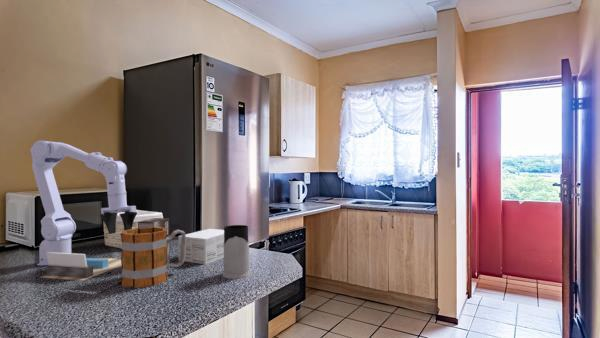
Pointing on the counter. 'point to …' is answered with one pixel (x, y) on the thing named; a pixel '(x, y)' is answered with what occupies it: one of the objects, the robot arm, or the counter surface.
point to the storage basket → (115, 238)
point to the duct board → (80, 271)
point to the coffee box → (158, 223)
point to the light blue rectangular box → (97, 263)
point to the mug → (147, 256)
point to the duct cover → (67, 259)
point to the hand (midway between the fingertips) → (120, 233)
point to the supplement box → (203, 246)
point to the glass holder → (236, 252)
